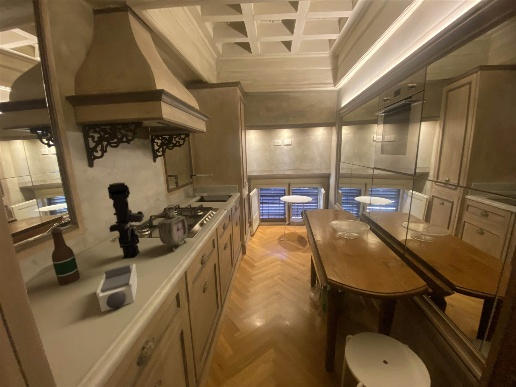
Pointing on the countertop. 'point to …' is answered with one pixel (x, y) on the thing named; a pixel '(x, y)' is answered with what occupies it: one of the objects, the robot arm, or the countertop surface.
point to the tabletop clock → (173, 229)
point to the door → (117, 277)
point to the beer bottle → (63, 260)
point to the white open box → (118, 293)
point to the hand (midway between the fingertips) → (128, 240)
